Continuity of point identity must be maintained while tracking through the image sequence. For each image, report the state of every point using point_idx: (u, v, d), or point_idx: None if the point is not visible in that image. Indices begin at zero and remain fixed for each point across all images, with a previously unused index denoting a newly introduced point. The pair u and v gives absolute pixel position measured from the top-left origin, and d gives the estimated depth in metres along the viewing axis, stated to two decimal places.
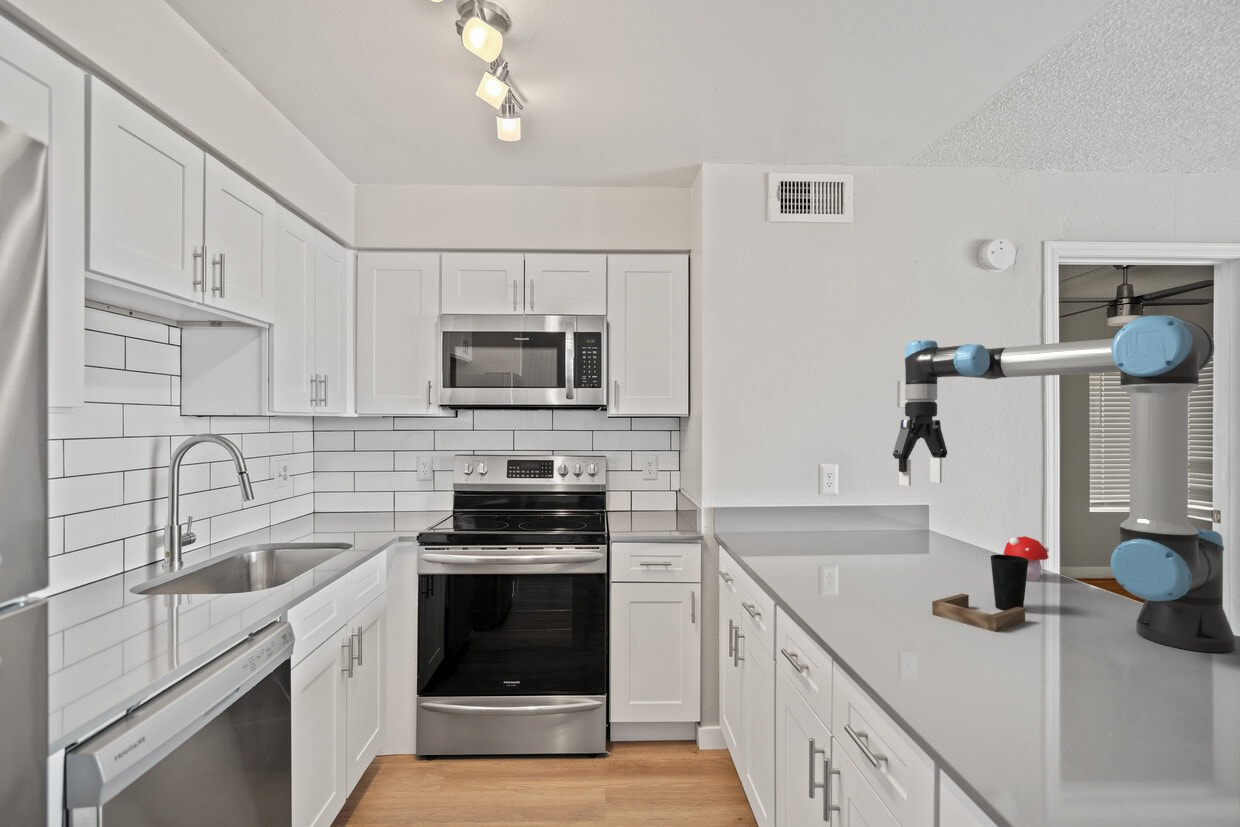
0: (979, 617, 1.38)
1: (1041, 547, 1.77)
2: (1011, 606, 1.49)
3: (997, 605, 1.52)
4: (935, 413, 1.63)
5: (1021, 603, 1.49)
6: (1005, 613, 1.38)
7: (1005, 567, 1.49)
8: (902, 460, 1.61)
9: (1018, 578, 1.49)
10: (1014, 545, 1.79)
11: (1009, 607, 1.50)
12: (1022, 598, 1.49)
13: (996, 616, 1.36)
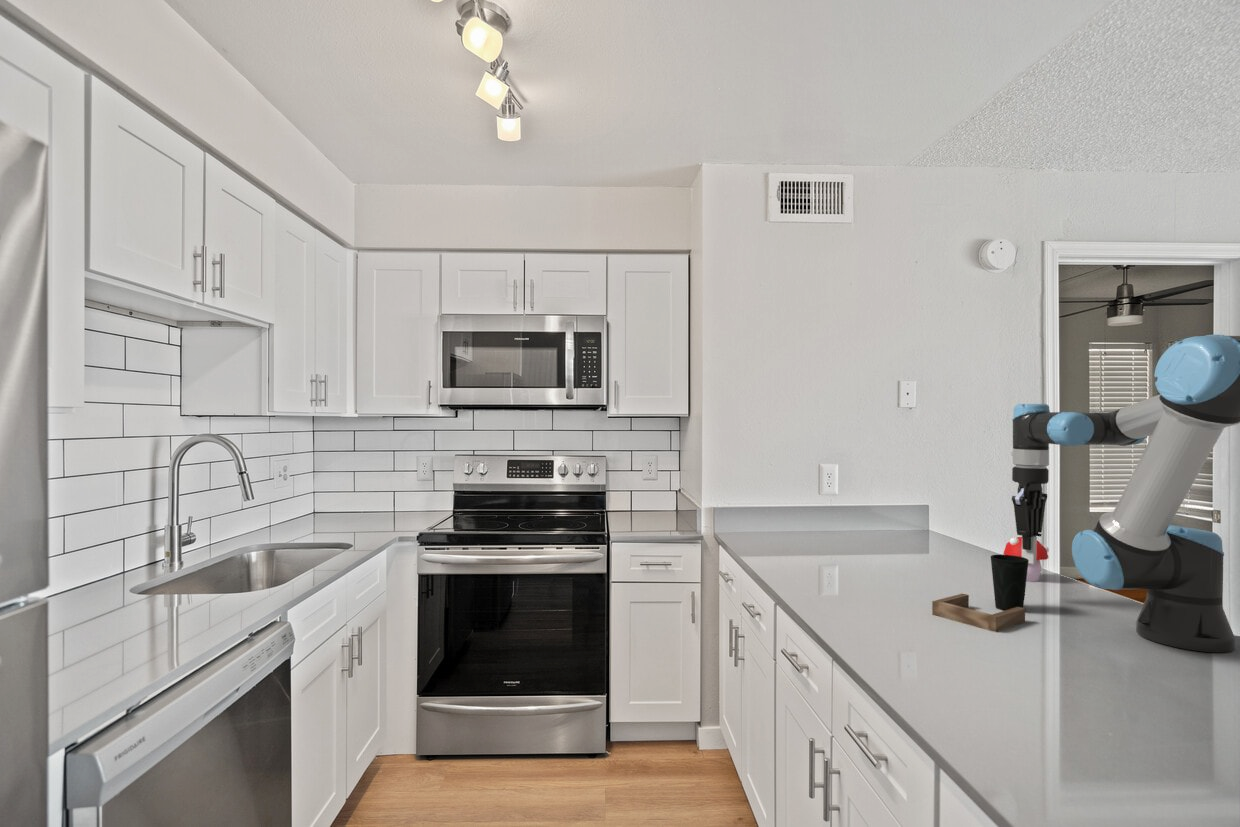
0: (979, 617, 1.38)
1: (1041, 547, 1.77)
2: (1011, 606, 1.49)
3: (997, 605, 1.52)
4: (1047, 480, 1.55)
5: (1021, 603, 1.49)
6: (1005, 613, 1.38)
7: (1005, 567, 1.49)
8: (1026, 537, 1.57)
9: (1018, 578, 1.49)
10: (1014, 545, 1.79)
11: (1009, 607, 1.50)
12: (1022, 598, 1.49)
13: (996, 616, 1.36)
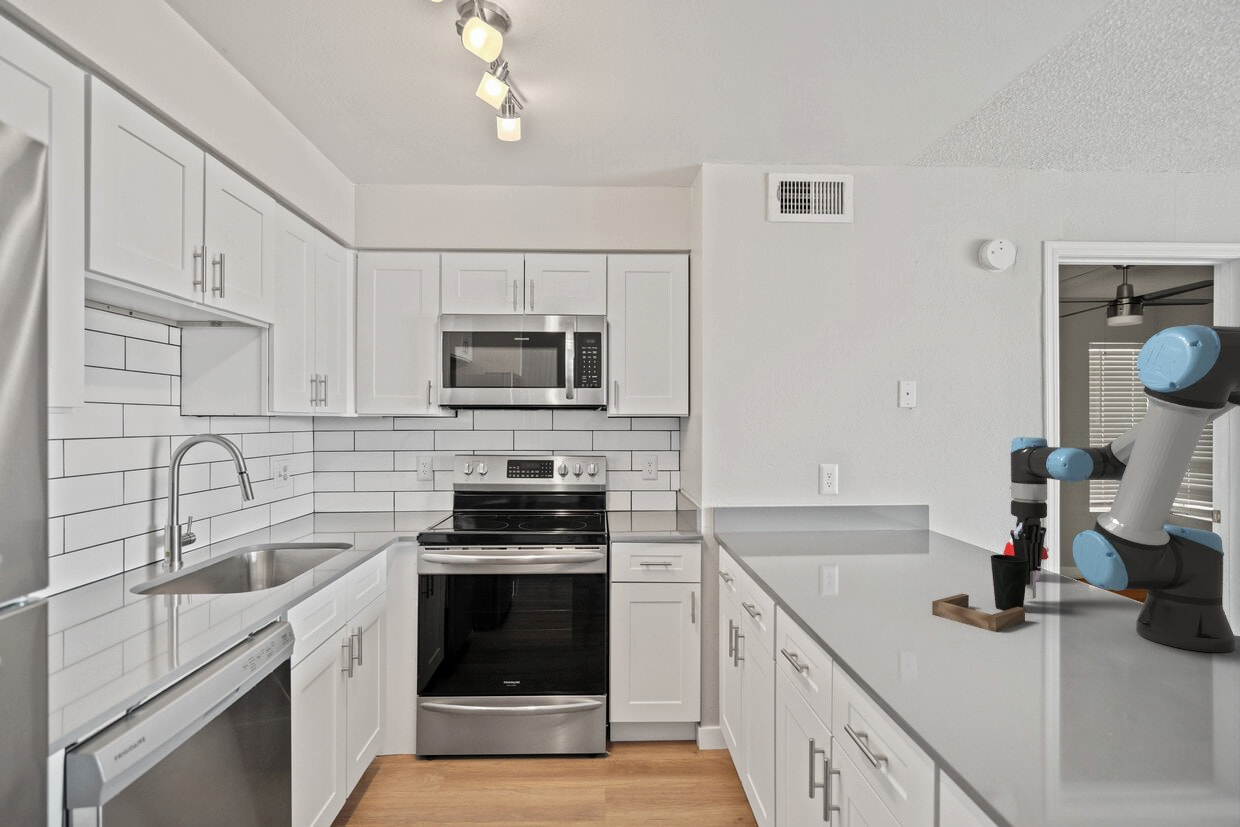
0: (979, 617, 1.38)
1: None
2: (1011, 606, 1.49)
3: (997, 605, 1.52)
4: (1046, 515, 1.54)
5: (1021, 603, 1.49)
6: (1005, 613, 1.38)
7: (1005, 567, 1.49)
8: None
9: (1018, 578, 1.49)
10: None
11: (1009, 607, 1.50)
12: (1022, 598, 1.49)
13: (996, 616, 1.36)
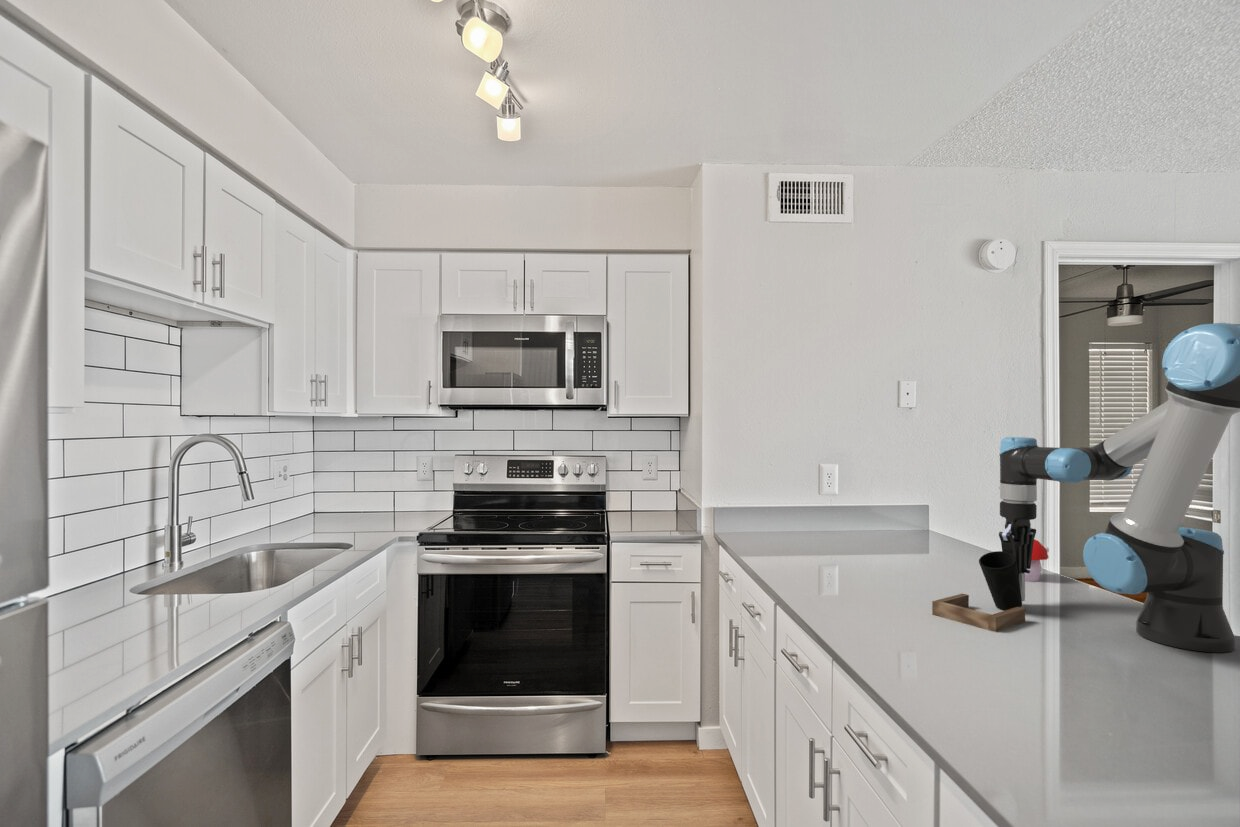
0: (979, 617, 1.38)
1: (1041, 547, 1.77)
2: (1010, 606, 1.49)
3: (996, 605, 1.52)
4: (1035, 516, 1.52)
5: (1019, 600, 1.49)
6: (1005, 613, 1.38)
7: (995, 574, 1.47)
8: None
9: (1010, 581, 1.47)
10: None
11: (1008, 607, 1.49)
12: (1018, 595, 1.49)
13: (996, 616, 1.36)
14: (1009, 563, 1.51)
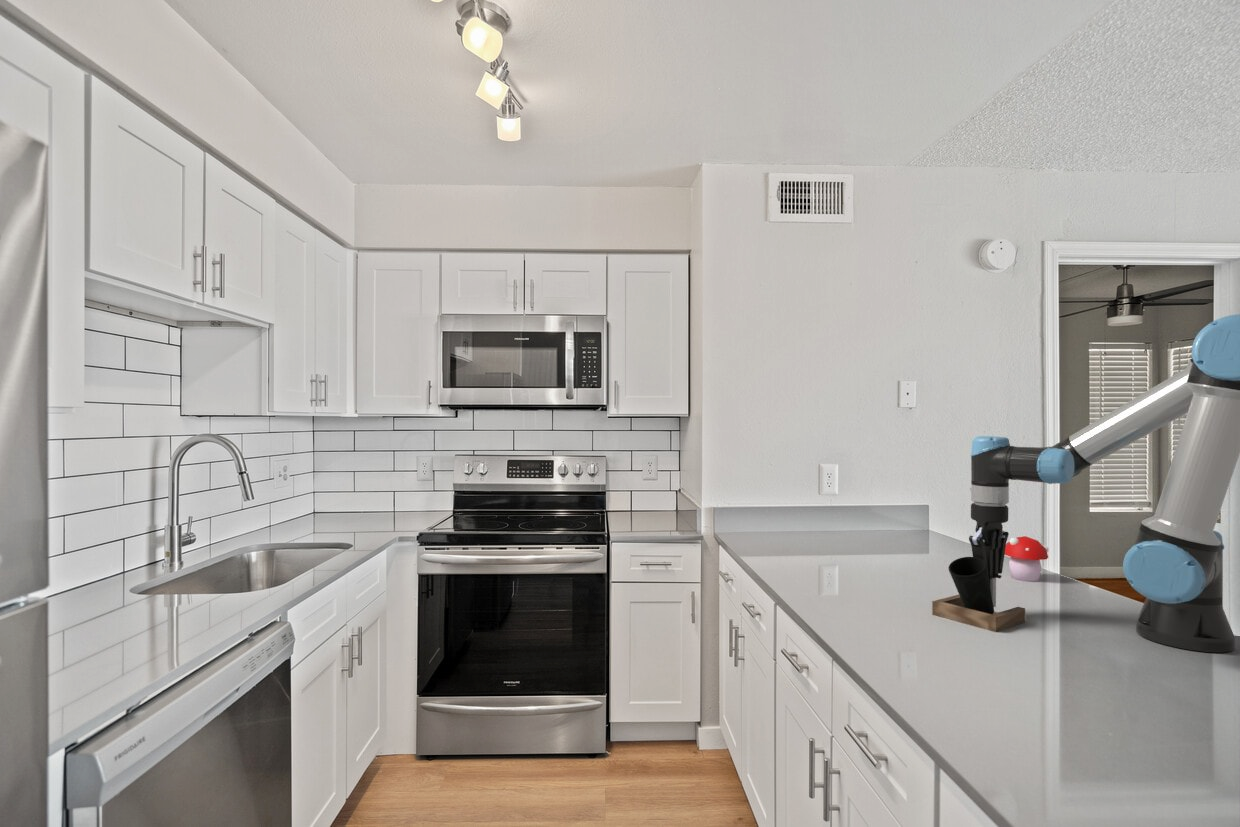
0: (979, 617, 1.38)
1: (1041, 547, 1.77)
2: None
3: None
4: (1006, 519, 1.45)
5: (990, 607, 1.43)
6: (1005, 613, 1.38)
7: (965, 582, 1.41)
8: None
9: (981, 588, 1.41)
10: (1014, 545, 1.79)
11: None
12: (990, 602, 1.43)
13: (996, 616, 1.36)
14: (979, 569, 1.45)
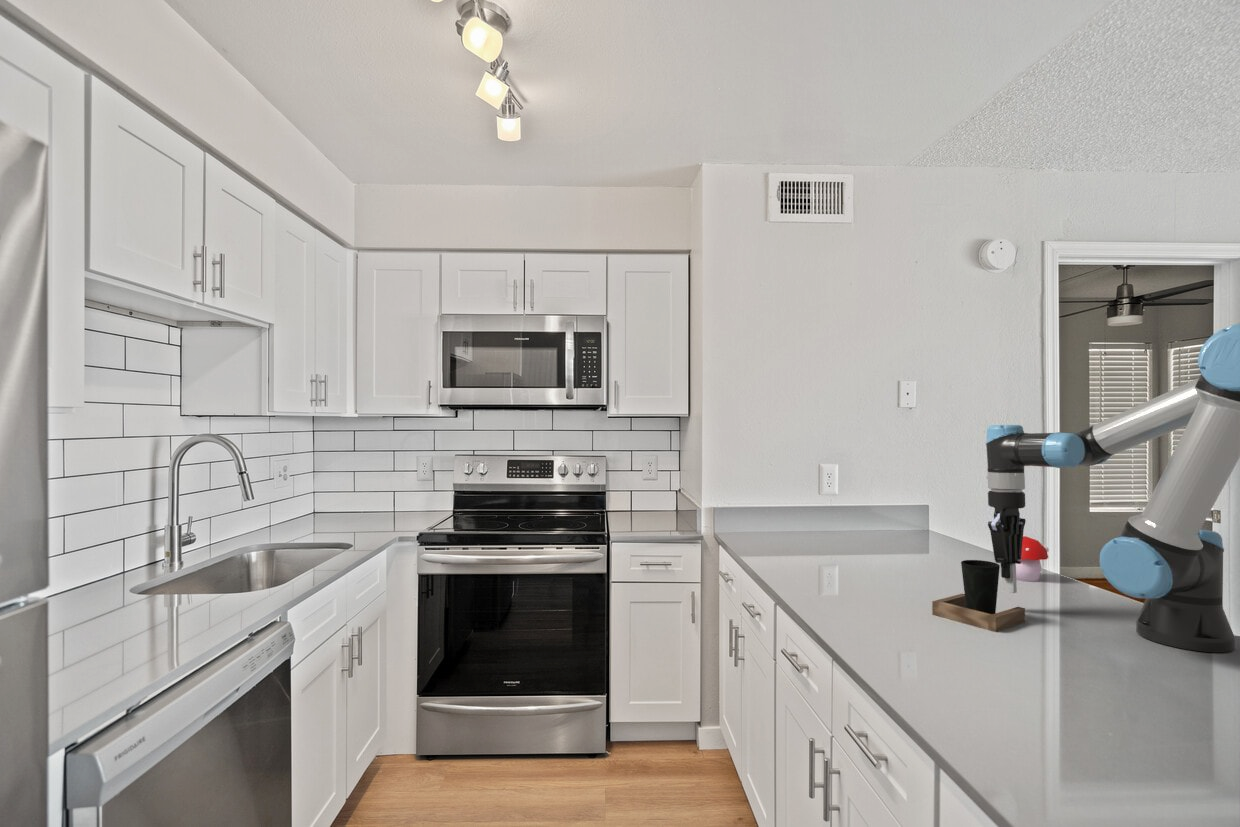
0: (979, 617, 1.38)
1: (1041, 547, 1.77)
2: None
3: None
4: (1024, 505, 1.48)
5: (992, 611, 1.43)
6: (1005, 613, 1.38)
7: (975, 573, 1.43)
8: (1005, 565, 1.49)
9: (989, 584, 1.42)
10: None
11: None
12: (993, 605, 1.43)
13: (996, 616, 1.36)
14: None
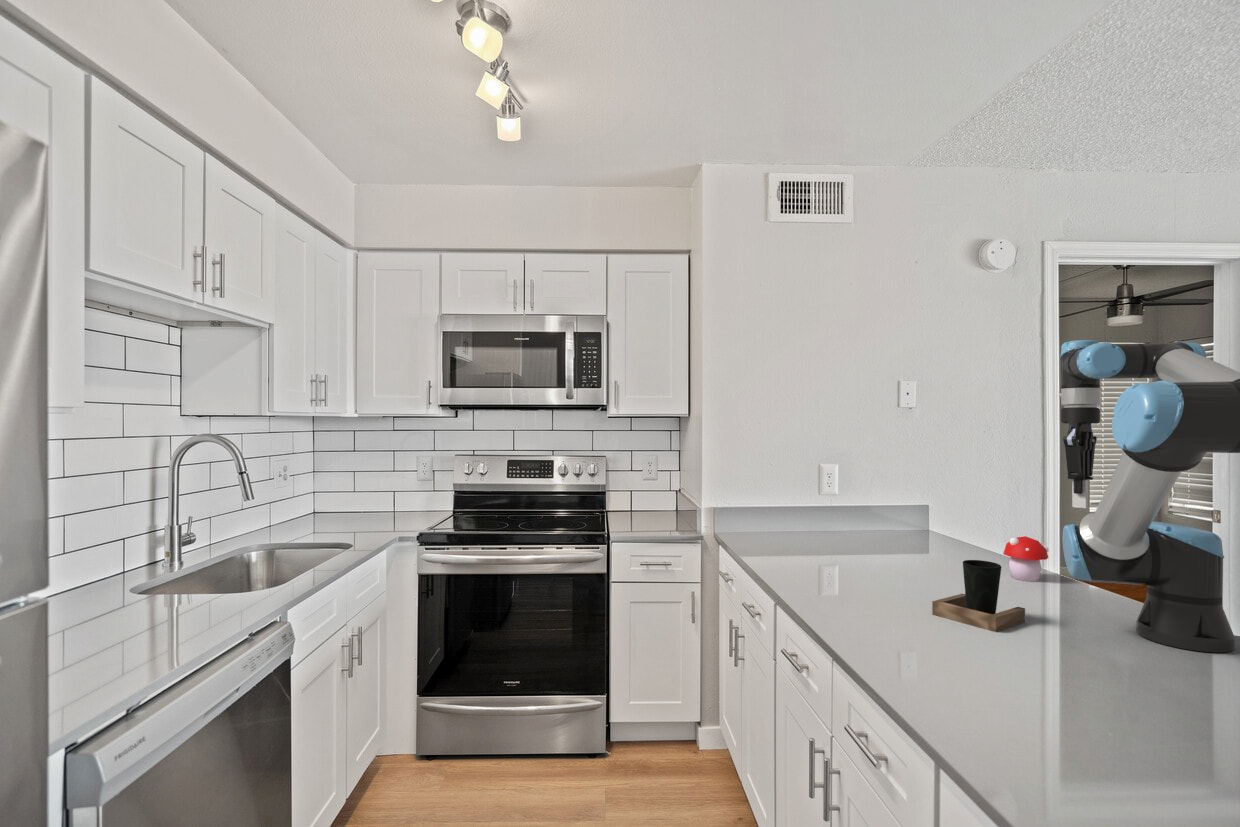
0: (979, 617, 1.38)
1: (1041, 547, 1.77)
2: None
3: None
4: (1099, 420, 1.48)
5: (993, 611, 1.43)
6: (1005, 613, 1.38)
7: (976, 574, 1.43)
8: (1078, 480, 1.49)
9: (990, 585, 1.42)
10: (1014, 545, 1.79)
11: None
12: (994, 606, 1.43)
13: (996, 616, 1.36)
14: None
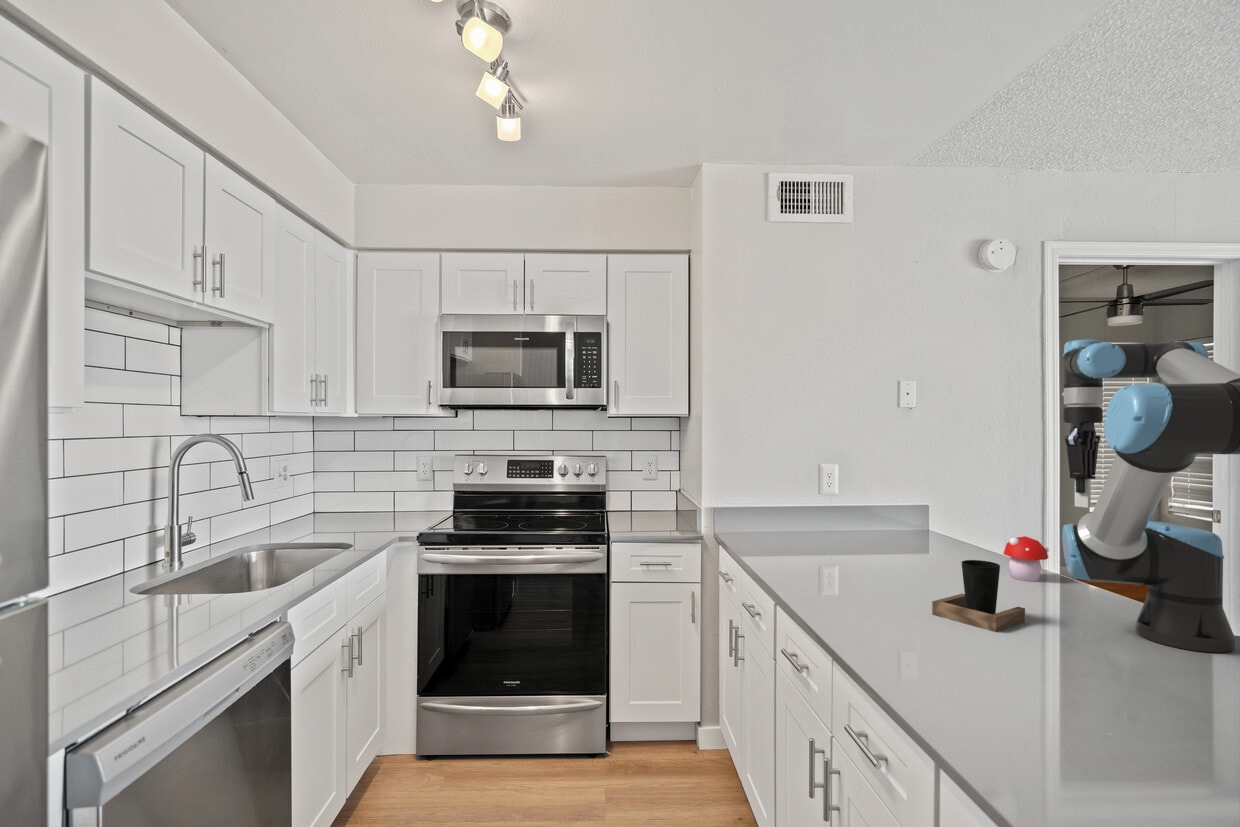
0: (979, 617, 1.38)
1: (1041, 547, 1.77)
2: None
3: None
4: (1101, 419, 1.48)
5: (992, 611, 1.43)
6: (1005, 613, 1.38)
7: (975, 574, 1.43)
8: (1080, 480, 1.50)
9: (989, 585, 1.42)
10: (1014, 545, 1.79)
11: None
12: (993, 606, 1.43)
13: (996, 616, 1.36)
14: None
